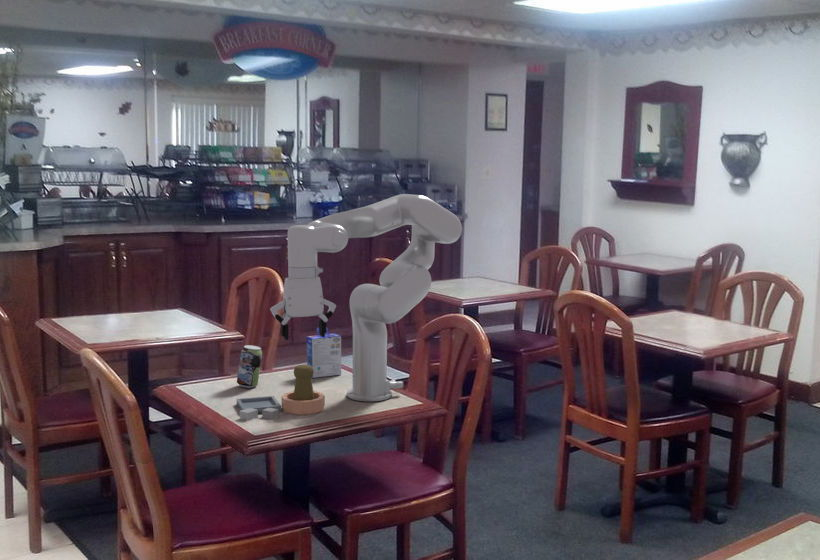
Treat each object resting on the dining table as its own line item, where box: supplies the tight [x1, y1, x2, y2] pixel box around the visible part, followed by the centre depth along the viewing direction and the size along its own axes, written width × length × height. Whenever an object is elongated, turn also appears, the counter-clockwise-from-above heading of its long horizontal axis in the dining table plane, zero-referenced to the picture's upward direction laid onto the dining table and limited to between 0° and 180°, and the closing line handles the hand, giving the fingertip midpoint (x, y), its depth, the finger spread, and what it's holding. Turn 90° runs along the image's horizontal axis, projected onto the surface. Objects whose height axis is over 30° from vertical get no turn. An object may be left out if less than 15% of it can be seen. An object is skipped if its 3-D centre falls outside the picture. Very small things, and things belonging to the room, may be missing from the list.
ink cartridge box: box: [305, 326, 342, 379], centre depth 265 cm, size 10×6×14 cm, turn 119°
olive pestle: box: [293, 364, 314, 401], centre depth 229 cm, size 6×6×11 cm
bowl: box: [280, 390, 326, 416], centre depth 229 cm, size 11×11×4 cm
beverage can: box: [236, 344, 263, 389], centre depth 250 cm, size 6×7×12 cm
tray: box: [236, 395, 282, 414], centre depth 230 cm, size 10×10×2 cm
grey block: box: [261, 408, 280, 420], centre depth 223 cm, size 3×3×2 cm
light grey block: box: [239, 408, 259, 421], centre depth 221 cm, size 4×3×2 cm
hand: (304, 337), depth 227 cm, fingers open, 9 cm apart
